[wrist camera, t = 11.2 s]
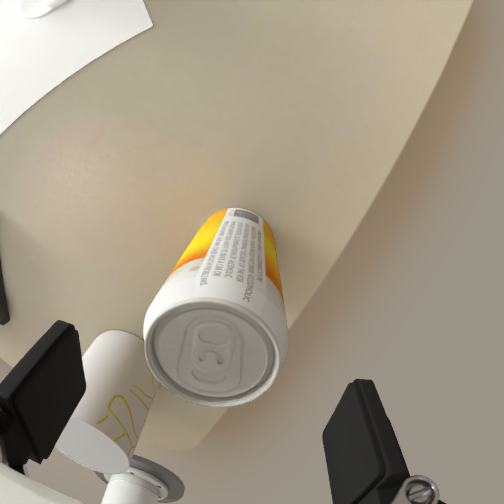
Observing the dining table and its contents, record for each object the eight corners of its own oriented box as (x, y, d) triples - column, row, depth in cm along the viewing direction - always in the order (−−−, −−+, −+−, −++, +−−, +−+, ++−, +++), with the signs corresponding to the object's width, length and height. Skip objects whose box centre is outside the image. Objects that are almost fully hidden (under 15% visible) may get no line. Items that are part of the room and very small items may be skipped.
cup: (160, 397, 32) (132, 483, 20) (95, 377, 31) (52, 452, 20) (164, 342, 29) (125, 435, 18) (90, 321, 29) (30, 397, 17)
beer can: (195, 270, 26) (137, 397, 12) (204, 199, 25) (134, 275, 10) (266, 283, 27) (271, 421, 13) (281, 213, 25) (309, 306, 11)
